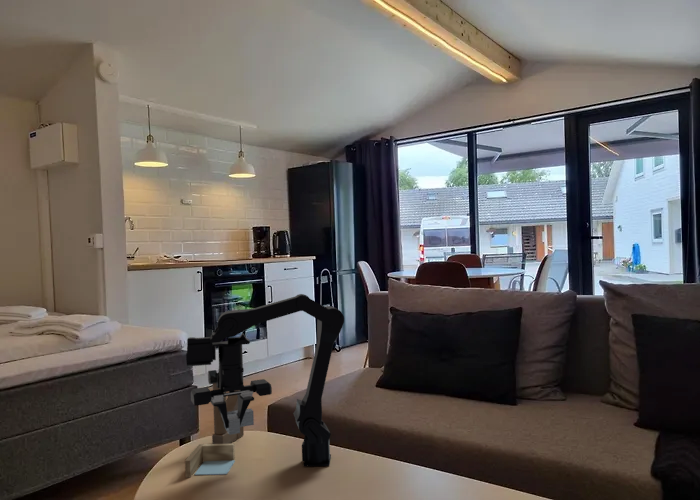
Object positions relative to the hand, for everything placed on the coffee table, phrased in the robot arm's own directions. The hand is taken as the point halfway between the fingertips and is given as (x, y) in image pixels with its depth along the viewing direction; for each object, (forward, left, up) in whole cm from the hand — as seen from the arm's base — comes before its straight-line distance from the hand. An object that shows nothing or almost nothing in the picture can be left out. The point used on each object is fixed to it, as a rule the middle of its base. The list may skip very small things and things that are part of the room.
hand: (232, 426), depth 126 cm
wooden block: (+7, -21, -11) cm, 25 cm away
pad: (+6, -3, -11) cm, 13 cm away
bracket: (-1, -2, -1) cm, 3 cm away
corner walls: (+6, -3, -11) cm, 13 cm away
